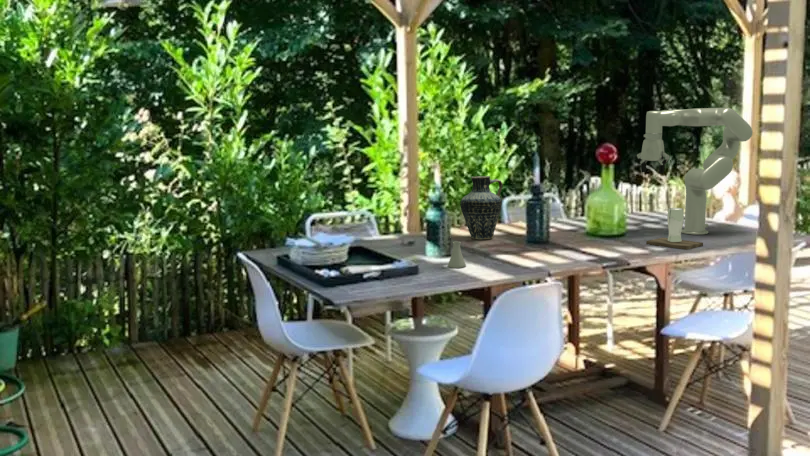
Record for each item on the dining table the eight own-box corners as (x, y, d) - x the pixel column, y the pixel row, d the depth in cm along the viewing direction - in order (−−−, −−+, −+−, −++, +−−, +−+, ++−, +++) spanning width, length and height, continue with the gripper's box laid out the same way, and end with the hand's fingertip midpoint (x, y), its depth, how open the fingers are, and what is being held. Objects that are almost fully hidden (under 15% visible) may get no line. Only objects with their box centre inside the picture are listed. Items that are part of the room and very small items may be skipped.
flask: (453, 264, 331) (453, 239, 330) (469, 266, 327) (469, 241, 326) (444, 267, 325) (444, 242, 324) (460, 269, 321) (460, 244, 320)
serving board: (663, 240, 383) (663, 237, 383) (702, 245, 368) (703, 242, 368) (646, 244, 374) (646, 240, 373) (686, 249, 359) (686, 246, 359)
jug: (472, 243, 381) (472, 178, 376) (453, 237, 398) (453, 175, 394) (511, 239, 389) (511, 176, 385) (490, 234, 407) (490, 173, 402)
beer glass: (683, 243, 367) (684, 209, 365) (667, 242, 368) (668, 209, 366) (681, 240, 374) (683, 207, 371) (665, 240, 375) (667, 207, 373)
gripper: (633, 136, 397) (632, 172, 400) (665, 137, 384) (664, 174, 387) (642, 136, 402) (641, 171, 405) (674, 137, 389) (672, 173, 392)
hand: (652, 172), depth 396 cm, fingers open, 9 cm apart
